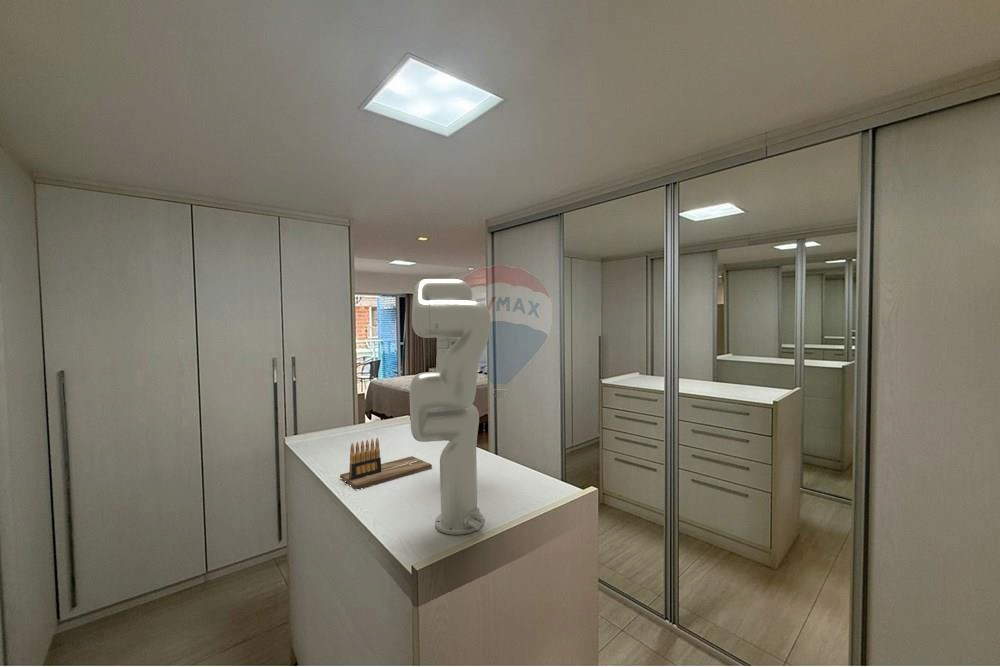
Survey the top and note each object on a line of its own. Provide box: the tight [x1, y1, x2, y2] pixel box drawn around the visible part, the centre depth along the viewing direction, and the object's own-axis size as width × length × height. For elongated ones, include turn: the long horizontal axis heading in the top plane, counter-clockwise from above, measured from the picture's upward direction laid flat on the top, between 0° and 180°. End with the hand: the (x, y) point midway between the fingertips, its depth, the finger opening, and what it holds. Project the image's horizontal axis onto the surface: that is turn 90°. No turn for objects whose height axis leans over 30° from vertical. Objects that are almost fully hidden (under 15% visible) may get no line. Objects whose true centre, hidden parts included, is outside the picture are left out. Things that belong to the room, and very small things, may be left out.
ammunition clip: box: [348, 437, 382, 480], centre depth 139 cm, size 11×2×12 cm, turn 132°
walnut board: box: [339, 455, 433, 490], centre depth 145 cm, size 14×28×2 cm, turn 132°
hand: (449, 396), depth 136 cm, fingers open, 9 cm apart
